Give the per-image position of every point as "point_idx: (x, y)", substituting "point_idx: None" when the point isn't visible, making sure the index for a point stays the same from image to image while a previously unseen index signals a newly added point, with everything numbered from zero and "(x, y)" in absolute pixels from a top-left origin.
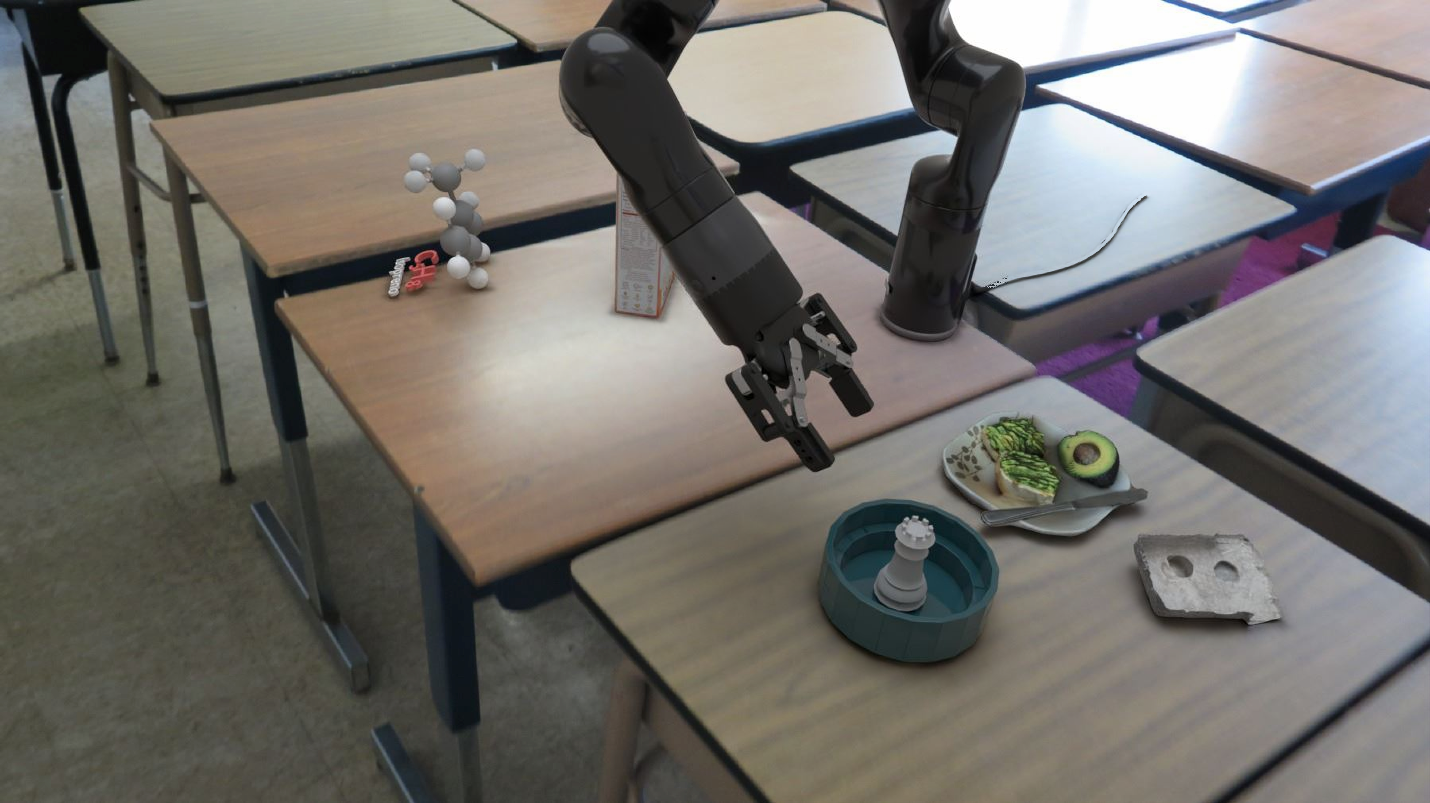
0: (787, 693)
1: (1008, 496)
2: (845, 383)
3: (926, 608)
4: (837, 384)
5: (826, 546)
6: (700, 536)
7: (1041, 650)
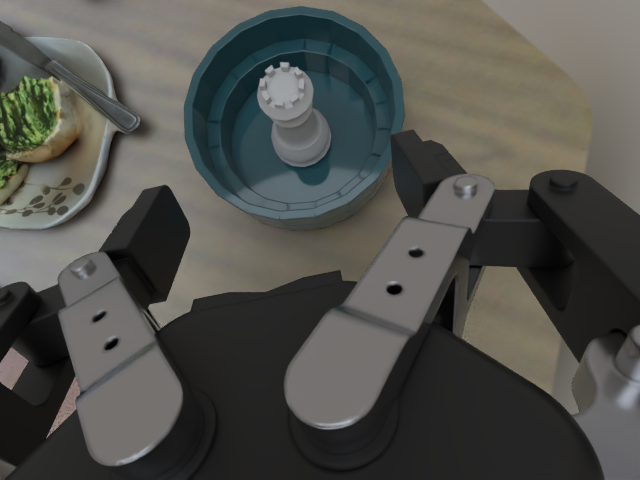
0: (492, 156)
1: (80, 124)
2: (150, 253)
3: None
4: (159, 276)
5: (355, 198)
6: None
7: (261, 12)
